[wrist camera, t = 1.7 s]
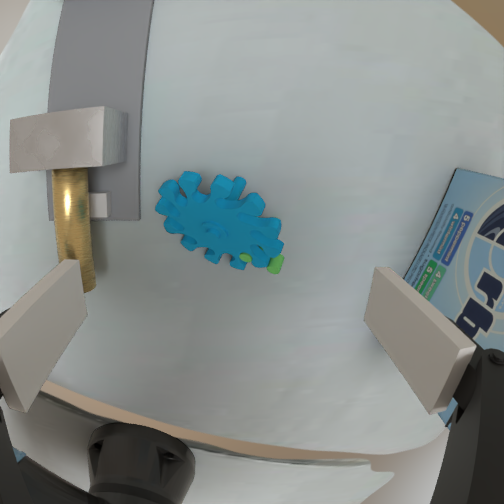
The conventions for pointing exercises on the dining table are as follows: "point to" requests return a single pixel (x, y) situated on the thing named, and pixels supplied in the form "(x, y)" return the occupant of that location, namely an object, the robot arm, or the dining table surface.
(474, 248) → the gum box
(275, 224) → the gear
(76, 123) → the bearing block
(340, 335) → the dining table surface
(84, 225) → the shaft
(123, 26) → the housing
